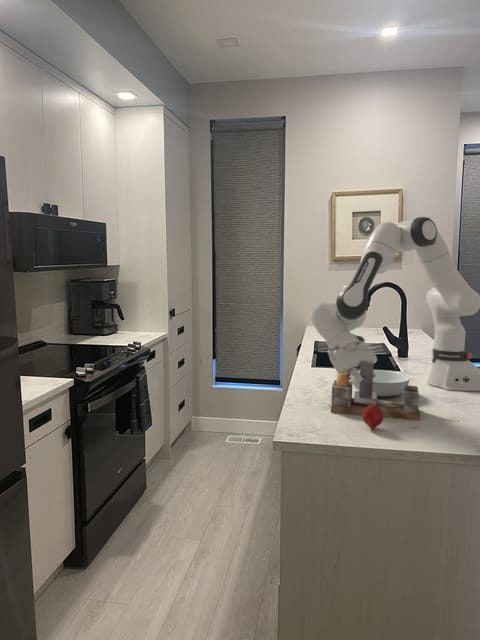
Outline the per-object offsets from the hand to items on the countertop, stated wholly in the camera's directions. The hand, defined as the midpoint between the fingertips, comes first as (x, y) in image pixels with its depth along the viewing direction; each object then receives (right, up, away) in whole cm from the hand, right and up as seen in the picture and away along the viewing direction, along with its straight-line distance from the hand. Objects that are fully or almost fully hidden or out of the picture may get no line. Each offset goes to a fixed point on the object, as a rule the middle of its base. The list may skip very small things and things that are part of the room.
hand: (368, 379), depth 162 cm
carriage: (-1, -7, +1) cm, 7 cm away
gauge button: (-8, -7, +3) cm, 11 cm away
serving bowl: (+9, -8, +22) cm, 25 cm away
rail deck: (+2, -10, +1) cm, 11 cm away
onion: (-3, -13, -16) cm, 21 cm away
